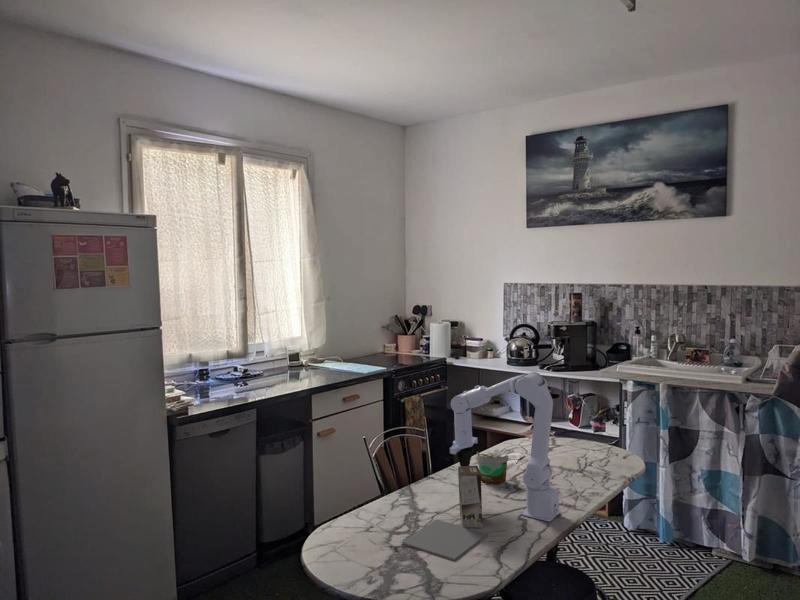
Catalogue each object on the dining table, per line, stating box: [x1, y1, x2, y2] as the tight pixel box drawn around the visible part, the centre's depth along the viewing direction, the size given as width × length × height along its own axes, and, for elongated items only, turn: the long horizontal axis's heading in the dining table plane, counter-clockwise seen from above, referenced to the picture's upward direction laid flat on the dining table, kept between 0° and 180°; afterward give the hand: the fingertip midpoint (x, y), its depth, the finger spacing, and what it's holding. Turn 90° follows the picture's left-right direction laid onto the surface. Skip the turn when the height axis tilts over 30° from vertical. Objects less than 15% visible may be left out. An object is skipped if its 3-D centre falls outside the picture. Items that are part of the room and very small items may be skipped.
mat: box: [400, 519, 489, 562], centre depth 171 cm, size 18×18×1 cm
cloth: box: [501, 451, 526, 470], centre depth 237 cm, size 26×14×2 cm, turn 135°
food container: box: [475, 451, 509, 486], centre depth 214 cm, size 12×6×10 cm, turn 62°
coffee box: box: [457, 465, 483, 529], centre depth 182 cm, size 9×6×16 cm
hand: (464, 469), depth 199 cm, fingers closed
